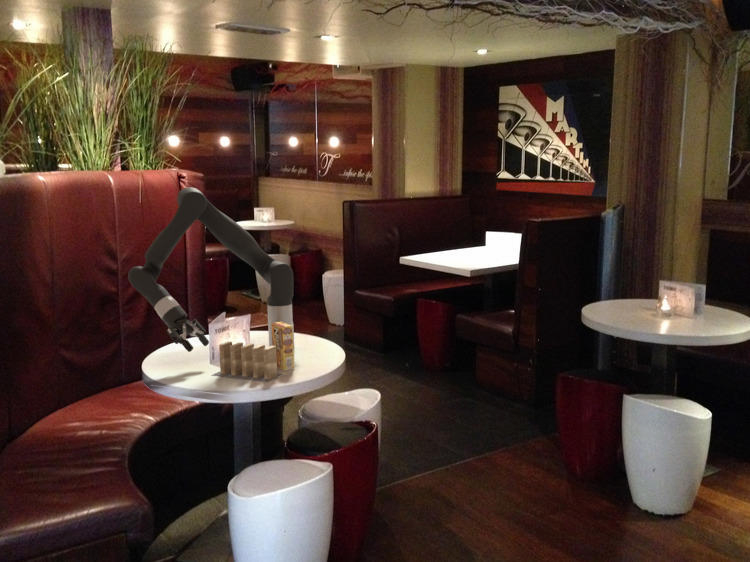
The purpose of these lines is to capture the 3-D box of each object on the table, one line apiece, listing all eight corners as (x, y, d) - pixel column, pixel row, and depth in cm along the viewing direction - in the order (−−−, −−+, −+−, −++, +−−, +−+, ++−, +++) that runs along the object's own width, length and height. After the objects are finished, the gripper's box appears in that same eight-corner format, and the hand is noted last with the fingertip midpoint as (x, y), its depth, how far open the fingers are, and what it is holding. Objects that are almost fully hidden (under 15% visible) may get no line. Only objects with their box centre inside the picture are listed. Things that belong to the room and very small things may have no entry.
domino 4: (253, 377, 234) (252, 348, 232) (261, 373, 238) (260, 344, 237) (257, 378, 233) (256, 348, 231) (266, 374, 237) (264, 344, 236)
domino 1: (220, 374, 239) (219, 344, 237) (229, 370, 243) (228, 341, 242) (224, 374, 238) (223, 345, 237) (233, 370, 243) (232, 341, 241)
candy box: (295, 369, 244) (293, 325, 242) (283, 371, 242) (282, 327, 240) (283, 364, 252) (281, 321, 249) (272, 365, 249) (270, 322, 247)
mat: (228, 368, 247) (228, 367, 247) (283, 375, 238) (283, 374, 238) (210, 376, 238) (210, 375, 238) (267, 383, 229) (267, 382, 229)
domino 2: (231, 375, 237) (230, 345, 236) (240, 371, 242) (238, 342, 240) (235, 375, 236) (234, 346, 235) (244, 371, 241) (242, 342, 239)
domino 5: (264, 379, 232) (263, 349, 230) (273, 375, 236) (271, 345, 235) (268, 379, 231) (267, 349, 230) (277, 375, 236) (276, 346, 234)
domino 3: (242, 376, 235) (241, 346, 234) (251, 372, 240) (249, 343, 238) (246, 377, 235) (245, 347, 233) (255, 373, 239) (253, 343, 238)
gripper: (162, 308, 239) (192, 345, 236) (189, 301, 252) (218, 335, 249) (150, 323, 242) (180, 359, 239) (178, 315, 255) (206, 349, 252)
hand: (199, 347), depth 244 cm, fingers open, 8 cm apart
